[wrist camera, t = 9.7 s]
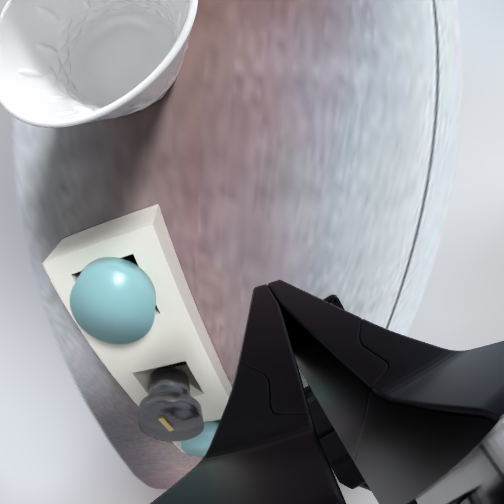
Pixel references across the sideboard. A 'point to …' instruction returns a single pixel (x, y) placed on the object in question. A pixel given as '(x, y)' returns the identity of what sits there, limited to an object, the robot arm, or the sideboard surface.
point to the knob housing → (166, 311)
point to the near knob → (114, 300)
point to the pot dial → (170, 407)
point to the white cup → (89, 57)
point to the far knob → (200, 440)
